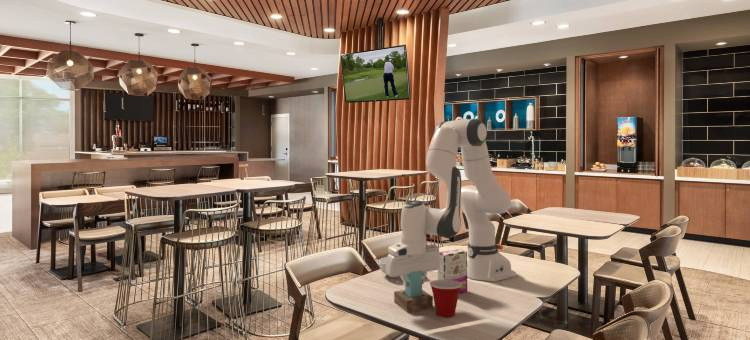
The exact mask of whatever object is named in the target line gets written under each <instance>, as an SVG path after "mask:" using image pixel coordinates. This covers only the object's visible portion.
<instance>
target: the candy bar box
mask: <svg viewBox="0 0 750 340" xmlns="http://www.w3.org/2000/svg"><path fill="white" fill-rule="evenodd" d="M439 259H440V268H439V270H437V280H453V281H457V282H460V283H461V284H462V286H461V287H460V290H459V294H463V293H467V292H468V277H467V263H468V250H465V249H462V248H458V249H451V250H445V251H439ZM459 294H458V295H459Z"/></svg>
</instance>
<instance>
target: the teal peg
mask: <svg viewBox="0 0 750 340" xmlns="http://www.w3.org/2000/svg"><path fill="white" fill-rule="evenodd" d="M405 279H406V280H407V281H409V286H407V287H404V290H405V295H406V296H407V297H408V298H414V297H420V296H422V290H423V284H422V271H417V272H410V274H408V275H406V278H405Z"/></svg>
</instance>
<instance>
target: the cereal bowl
mask: <svg viewBox="0 0 750 340" xmlns="http://www.w3.org/2000/svg"><path fill="white" fill-rule="evenodd" d="M386 260H387V256H384V257H381V258H379V260H378V265H379V269H380V271H381V272H382V273H383V274H384V275H387V276H389V275H388V274H387V273H386ZM389 277H390V278H392V279H398V280H399V279H401V277H400V276H394V277H391V276H389Z"/></svg>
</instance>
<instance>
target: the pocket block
mask: <svg viewBox="0 0 750 340" xmlns="http://www.w3.org/2000/svg"><path fill="white" fill-rule="evenodd" d="M393 294H394V295H393V297H394V298H393V300H394V301H393V302H394V303H395V304H396V305H397V306H398V307H399V308H401V310H403V311H404V312H406V313H412V312H418V311H422V310H423V311H424V310H428V309H433V308H434V306H433V305H434V297H433V295H431V294H429V293H428V292H427V291H425V290H424V289H422V296H420V297H414V298H408V297H407V296H406V295H405V289H403V290H396V291H393Z"/></svg>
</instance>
